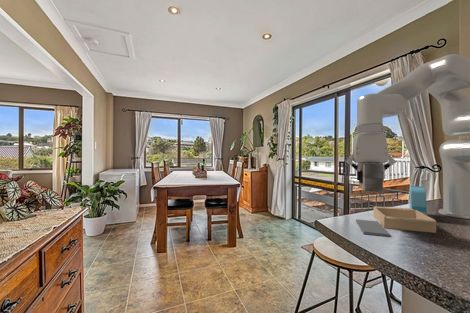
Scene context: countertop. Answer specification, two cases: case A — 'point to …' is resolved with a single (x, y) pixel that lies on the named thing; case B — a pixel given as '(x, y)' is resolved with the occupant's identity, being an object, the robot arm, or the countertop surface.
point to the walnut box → (372, 177)
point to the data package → (418, 199)
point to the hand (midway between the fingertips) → (370, 182)
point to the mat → (372, 228)
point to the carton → (404, 219)
